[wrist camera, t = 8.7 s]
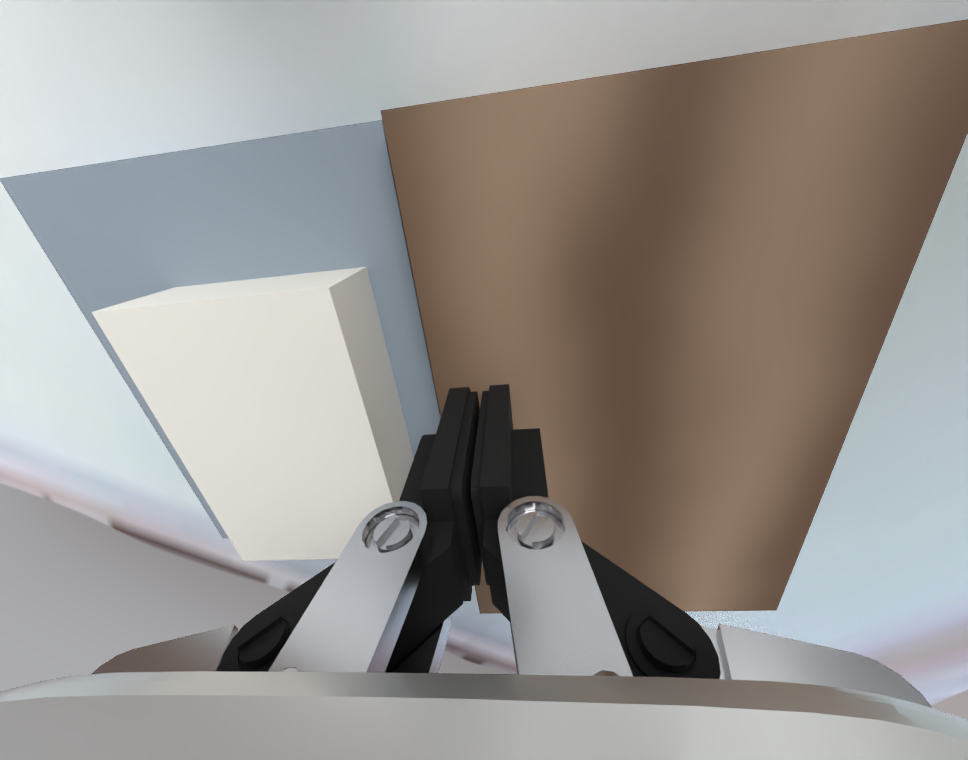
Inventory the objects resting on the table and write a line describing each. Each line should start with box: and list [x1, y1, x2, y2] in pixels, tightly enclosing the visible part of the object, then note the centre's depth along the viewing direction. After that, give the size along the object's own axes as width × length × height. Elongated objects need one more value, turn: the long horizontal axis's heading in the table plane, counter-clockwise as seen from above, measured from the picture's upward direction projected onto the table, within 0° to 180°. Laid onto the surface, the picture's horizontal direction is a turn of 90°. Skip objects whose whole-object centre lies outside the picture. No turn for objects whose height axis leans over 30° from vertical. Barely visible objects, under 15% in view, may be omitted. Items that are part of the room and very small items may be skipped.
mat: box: [0, 120, 441, 538], centre depth 13 cm, size 11×14×2 cm
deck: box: [381, 20, 968, 613], centre depth 13 cm, size 12×18×3 cm, turn 6°
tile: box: [92, 267, 414, 561], centre depth 12 cm, size 6×9×2 cm, turn 6°
